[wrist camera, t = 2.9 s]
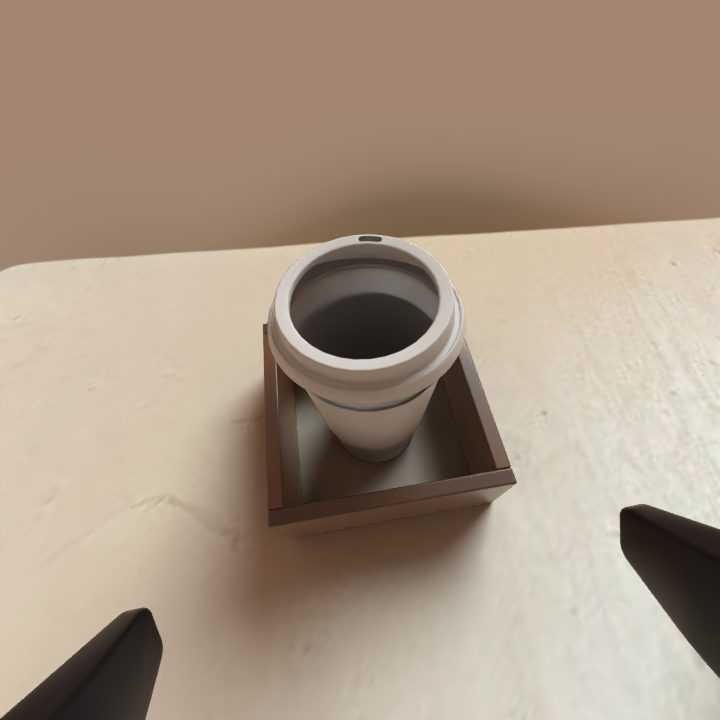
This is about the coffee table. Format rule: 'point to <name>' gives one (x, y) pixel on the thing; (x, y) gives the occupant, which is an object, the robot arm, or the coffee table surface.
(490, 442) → the box
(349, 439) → the cup
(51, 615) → the coffee table surface
